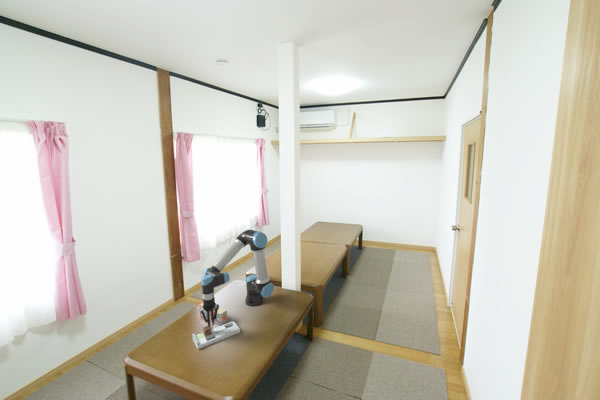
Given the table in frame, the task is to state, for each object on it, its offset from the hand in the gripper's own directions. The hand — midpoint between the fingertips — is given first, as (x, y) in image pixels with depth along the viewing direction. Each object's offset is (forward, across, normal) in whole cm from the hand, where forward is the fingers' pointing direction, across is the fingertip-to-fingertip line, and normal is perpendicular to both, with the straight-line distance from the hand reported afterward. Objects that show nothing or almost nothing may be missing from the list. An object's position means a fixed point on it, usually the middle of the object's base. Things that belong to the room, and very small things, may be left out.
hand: (211, 329), depth 191 cm
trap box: (+4, -3, +3) cm, 6 cm away
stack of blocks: (+4, -7, -17) cm, 19 cm away
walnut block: (+2, +3, +1) cm, 3 cm away
